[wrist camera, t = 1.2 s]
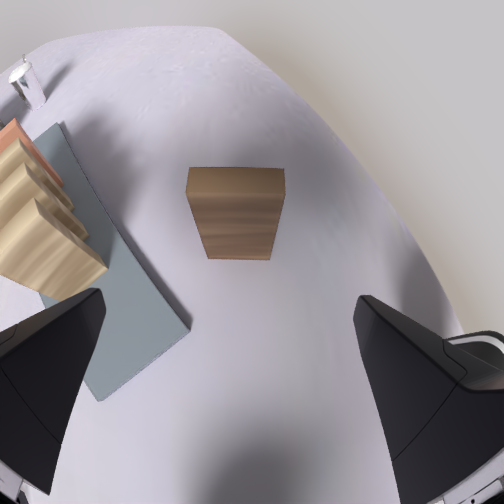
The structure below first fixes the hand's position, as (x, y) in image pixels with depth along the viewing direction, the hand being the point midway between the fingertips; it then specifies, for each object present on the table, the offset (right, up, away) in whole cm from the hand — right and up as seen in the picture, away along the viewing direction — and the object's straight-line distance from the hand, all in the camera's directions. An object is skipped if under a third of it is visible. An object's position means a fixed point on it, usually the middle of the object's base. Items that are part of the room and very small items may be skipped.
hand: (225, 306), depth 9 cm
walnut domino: (0, +2, +14) cm, 15 cm away
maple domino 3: (-13, -1, +12) cm, 18 cm away
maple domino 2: (-16, +2, +13) cm, 21 cm away
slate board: (-18, +4, +15) cm, 24 cm away
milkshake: (-35, +27, +23) cm, 50 cm away
